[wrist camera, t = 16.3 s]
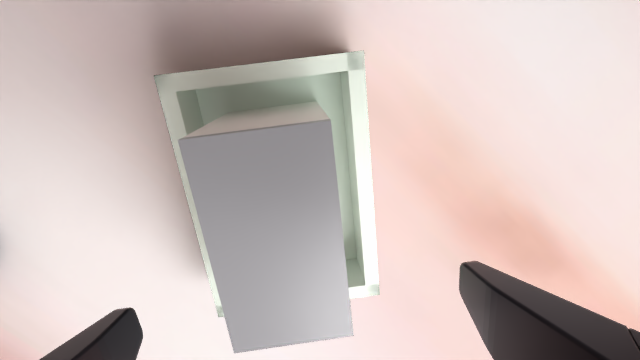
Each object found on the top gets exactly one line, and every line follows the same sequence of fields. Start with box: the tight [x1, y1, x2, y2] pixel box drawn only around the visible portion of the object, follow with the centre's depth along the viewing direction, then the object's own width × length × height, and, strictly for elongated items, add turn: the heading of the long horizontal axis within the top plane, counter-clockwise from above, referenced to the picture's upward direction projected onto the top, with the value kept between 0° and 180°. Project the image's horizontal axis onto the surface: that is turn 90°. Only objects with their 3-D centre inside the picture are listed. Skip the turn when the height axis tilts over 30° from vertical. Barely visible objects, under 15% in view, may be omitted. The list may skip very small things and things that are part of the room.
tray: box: [154, 51, 380, 317], centre depth 18 cm, size 10×14×4 cm
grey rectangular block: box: [178, 101, 354, 353], centre depth 16 cm, size 5×9×8 cm, turn 7°
